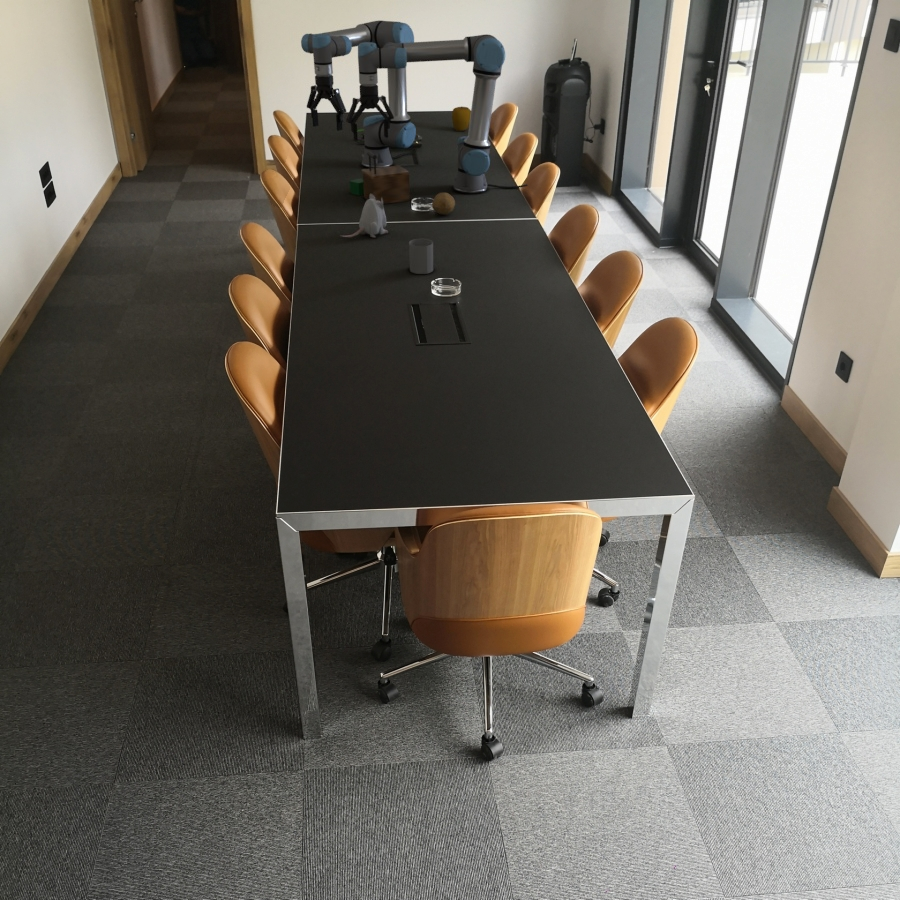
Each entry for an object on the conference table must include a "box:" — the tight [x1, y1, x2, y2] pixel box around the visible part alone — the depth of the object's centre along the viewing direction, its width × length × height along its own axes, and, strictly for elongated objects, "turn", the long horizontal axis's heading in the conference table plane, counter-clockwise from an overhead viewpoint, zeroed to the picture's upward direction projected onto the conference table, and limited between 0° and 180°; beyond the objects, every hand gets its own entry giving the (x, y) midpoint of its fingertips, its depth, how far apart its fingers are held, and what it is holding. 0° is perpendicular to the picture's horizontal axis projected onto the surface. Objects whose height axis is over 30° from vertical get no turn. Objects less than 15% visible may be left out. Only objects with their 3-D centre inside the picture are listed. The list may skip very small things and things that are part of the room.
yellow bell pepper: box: [451, 105, 471, 132], centre depth 487 cm, size 11×11×13 cm
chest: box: [362, 173, 411, 205], centre depth 377 cm, size 17×12×11 cm
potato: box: [431, 192, 456, 216], centre depth 360 cm, size 10×14×8 cm
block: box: [349, 178, 364, 196], centre depth 386 cm, size 6×6×6 cm
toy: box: [341, 194, 389, 239], centre depth 333 cm, size 9×24×15 cm, turn 137°
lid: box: [361, 151, 410, 179], centre depth 372 cm, size 17×12×9 cm
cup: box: [408, 237, 434, 275], centre depth 305 cm, size 8×8×10 cm
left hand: (327, 128), depth 372 cm, fingers open, 13 cm apart
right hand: (371, 138), depth 364 cm, fingers open, 13 cm apart
